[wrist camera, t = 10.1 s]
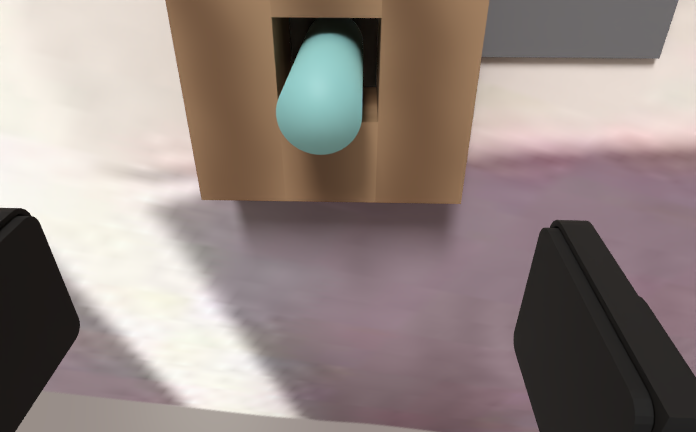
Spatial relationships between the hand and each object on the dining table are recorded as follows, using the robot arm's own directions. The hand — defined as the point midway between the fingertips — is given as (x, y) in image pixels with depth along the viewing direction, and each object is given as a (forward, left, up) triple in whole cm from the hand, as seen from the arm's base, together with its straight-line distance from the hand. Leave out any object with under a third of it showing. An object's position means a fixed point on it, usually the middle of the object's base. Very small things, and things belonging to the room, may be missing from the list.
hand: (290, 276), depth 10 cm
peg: (0, 0, -19) cm, 19 cm away
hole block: (0, 0, -19) cm, 19 cm away
